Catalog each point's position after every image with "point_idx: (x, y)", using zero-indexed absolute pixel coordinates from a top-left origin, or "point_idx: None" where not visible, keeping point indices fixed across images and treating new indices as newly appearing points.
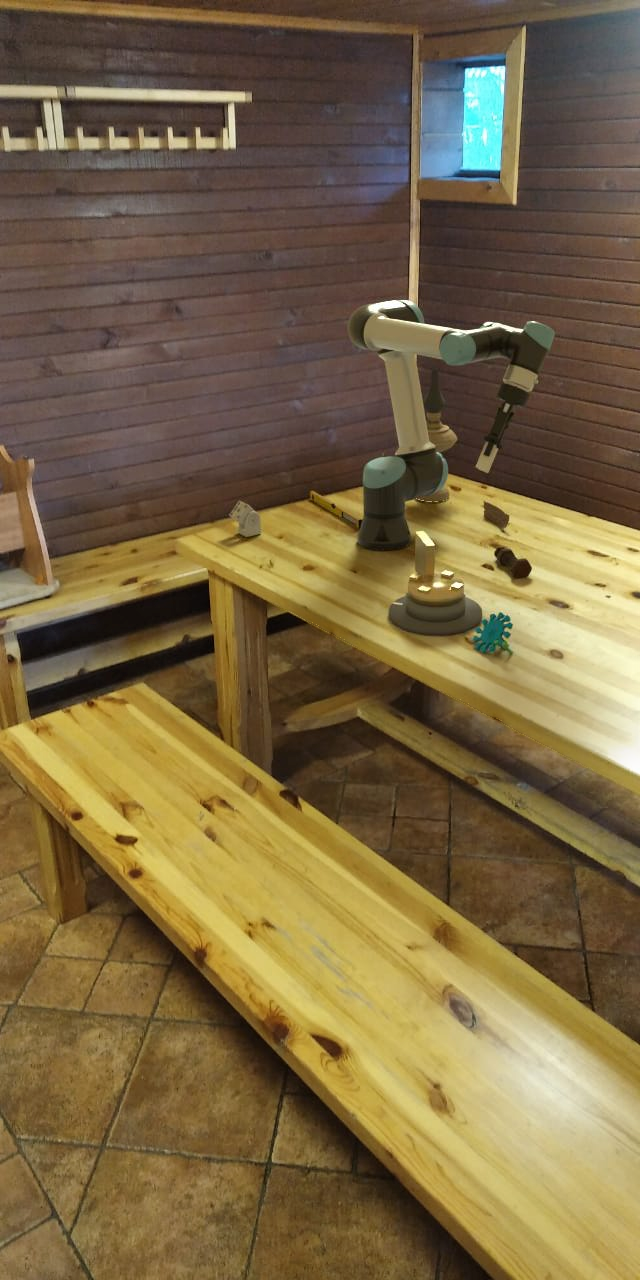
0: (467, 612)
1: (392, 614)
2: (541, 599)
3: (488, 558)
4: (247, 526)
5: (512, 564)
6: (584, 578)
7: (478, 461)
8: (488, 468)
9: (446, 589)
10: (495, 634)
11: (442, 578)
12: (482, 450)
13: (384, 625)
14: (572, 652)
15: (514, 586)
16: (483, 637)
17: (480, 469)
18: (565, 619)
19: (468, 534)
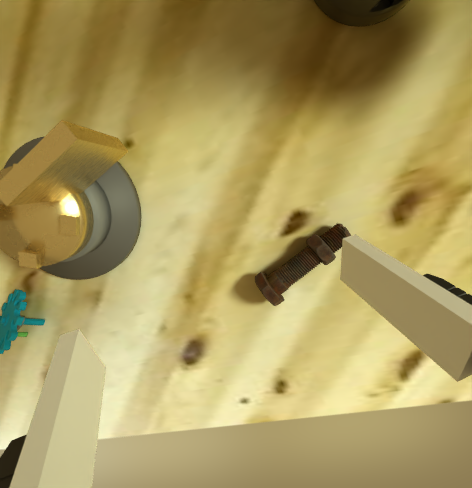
0: (84, 258)
1: (17, 154)
2: (198, 329)
3: (336, 211)
4: None
5: (263, 279)
6: (299, 365)
7: (53, 367)
8: (354, 286)
9: (18, 243)
10: (1, 326)
11: (57, 220)
12: (23, 448)
13: (5, 152)
14: None
15: (229, 284)
16: (9, 306)
17: (344, 249)
18: (150, 368)
19: (463, 129)
